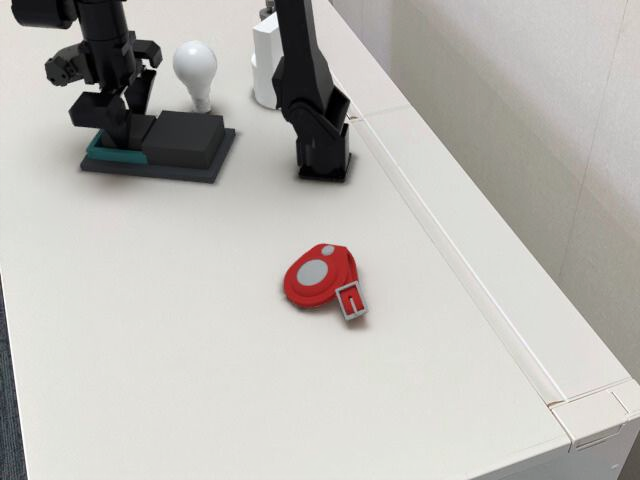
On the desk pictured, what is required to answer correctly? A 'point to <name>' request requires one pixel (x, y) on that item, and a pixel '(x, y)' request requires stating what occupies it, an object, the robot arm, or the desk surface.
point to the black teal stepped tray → (169, 149)
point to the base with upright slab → (266, 59)
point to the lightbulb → (196, 71)
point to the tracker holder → (326, 280)
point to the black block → (133, 132)
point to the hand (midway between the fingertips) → (131, 137)
